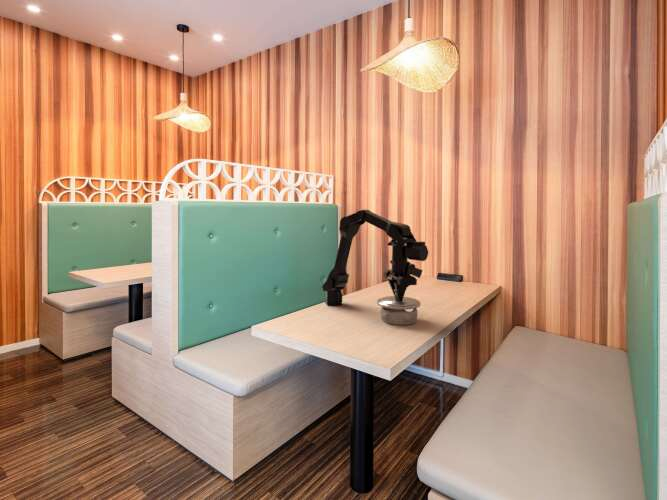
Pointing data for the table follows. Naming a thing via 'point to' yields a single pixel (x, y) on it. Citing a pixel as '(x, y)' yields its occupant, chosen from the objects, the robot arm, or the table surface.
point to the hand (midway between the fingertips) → (398, 299)
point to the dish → (398, 316)
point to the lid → (398, 302)
